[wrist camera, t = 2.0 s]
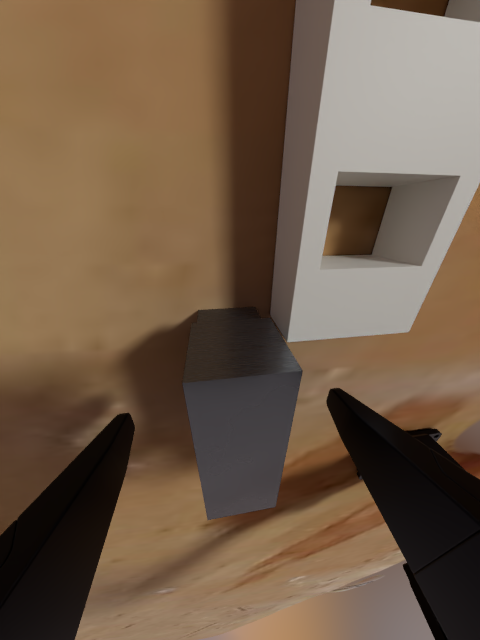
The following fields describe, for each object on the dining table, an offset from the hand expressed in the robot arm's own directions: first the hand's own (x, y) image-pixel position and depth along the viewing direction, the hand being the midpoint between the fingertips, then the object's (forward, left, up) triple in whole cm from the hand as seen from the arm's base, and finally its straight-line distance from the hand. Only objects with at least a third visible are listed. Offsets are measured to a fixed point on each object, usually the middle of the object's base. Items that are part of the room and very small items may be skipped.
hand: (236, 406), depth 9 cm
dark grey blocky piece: (0, 0, -3) cm, 3 cm away
